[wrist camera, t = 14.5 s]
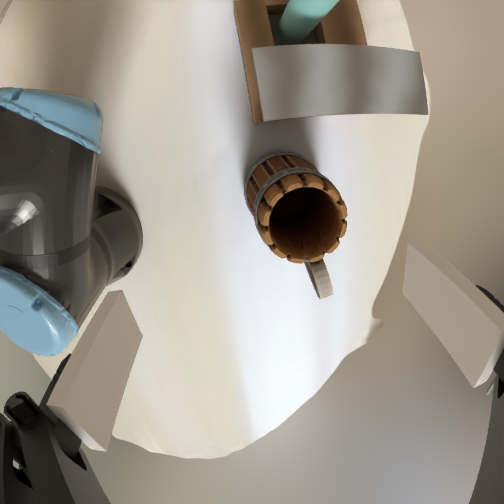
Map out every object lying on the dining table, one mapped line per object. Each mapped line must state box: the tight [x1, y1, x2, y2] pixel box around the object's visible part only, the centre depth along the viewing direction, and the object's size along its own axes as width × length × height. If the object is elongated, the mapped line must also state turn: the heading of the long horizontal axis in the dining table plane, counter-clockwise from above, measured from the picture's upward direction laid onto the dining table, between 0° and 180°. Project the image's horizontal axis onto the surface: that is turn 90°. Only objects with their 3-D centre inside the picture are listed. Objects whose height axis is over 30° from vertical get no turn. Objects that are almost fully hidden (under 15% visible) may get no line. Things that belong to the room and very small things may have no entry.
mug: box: [244, 152, 347, 299], centre depth 34 cm, size 16×11×15 cm
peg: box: [276, 0, 339, 45], centre depth 23 cm, size 4×4×16 cm
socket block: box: [234, 0, 428, 123], centre depth 25 cm, size 16×17×15 cm
